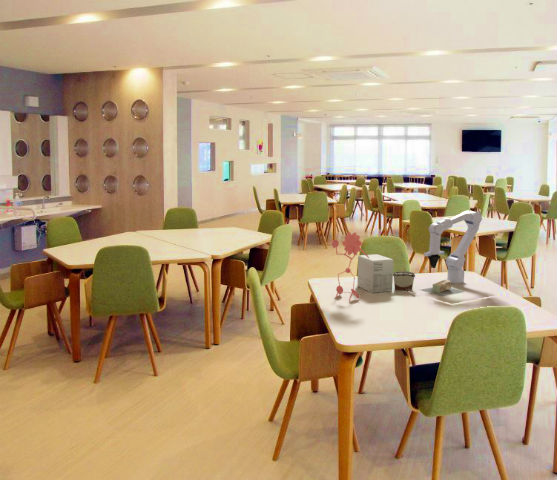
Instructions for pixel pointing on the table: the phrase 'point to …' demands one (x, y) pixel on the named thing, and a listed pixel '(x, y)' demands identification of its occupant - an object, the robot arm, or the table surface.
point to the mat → (443, 293)
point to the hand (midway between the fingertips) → (433, 267)
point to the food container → (403, 280)
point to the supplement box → (375, 273)
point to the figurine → (351, 246)
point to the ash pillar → (441, 286)
